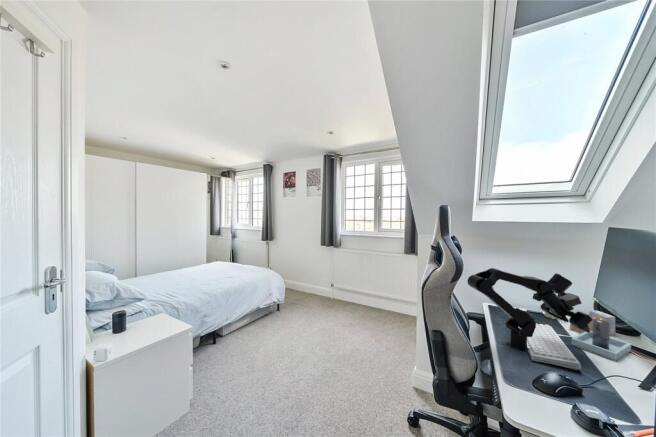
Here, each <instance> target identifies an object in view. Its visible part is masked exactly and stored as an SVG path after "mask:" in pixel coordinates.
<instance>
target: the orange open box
mask: <svg viewBox="0 0 656 437" xmlns="http://www.w3.org/2000/svg"><path fill="white" fill-rule="evenodd" d="M590 317H591V316H590ZM570 318H571V317H569V319H570ZM591 318H592V319H594V317H591ZM569 326H570V327H569V329H570V330H571V331H574V332H578V333H579V334H581V333H583V332H585V331H583V330H581V329H579V328H577V327H575V326H573V325H572V324H571V323H570V322H569ZM588 327H589V329H590V331H591V332H593V320H592V321H591V322H590V323H589V324H588Z"/></svg>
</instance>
